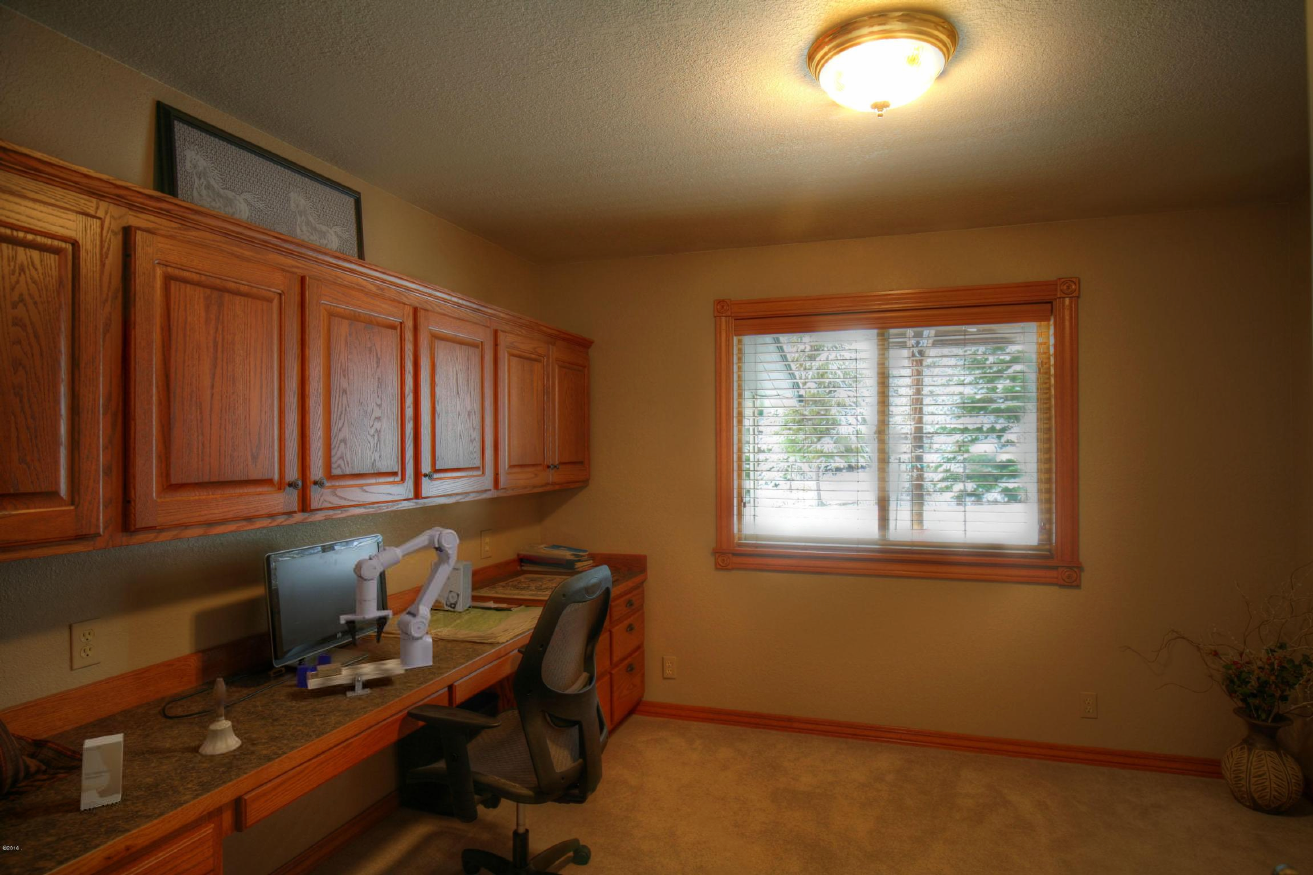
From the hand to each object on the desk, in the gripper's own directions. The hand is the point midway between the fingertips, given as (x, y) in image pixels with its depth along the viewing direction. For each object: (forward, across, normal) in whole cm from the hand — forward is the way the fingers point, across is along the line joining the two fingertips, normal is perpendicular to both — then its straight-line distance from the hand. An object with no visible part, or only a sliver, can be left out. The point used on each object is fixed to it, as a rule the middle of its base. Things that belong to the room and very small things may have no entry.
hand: (366, 643), depth 209 cm
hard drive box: (+10, +42, +69) cm, 81 cm away
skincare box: (+10, -55, -53) cm, 77 cm away
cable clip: (+10, -14, +3) cm, 18 cm away
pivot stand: (+9, -4, -11) cm, 15 cm away
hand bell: (+10, -36, -36) cm, 52 cm away
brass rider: (+5, -11, -11) cm, 16 cm away
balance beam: (+5, -4, -11) cm, 13 cm away
